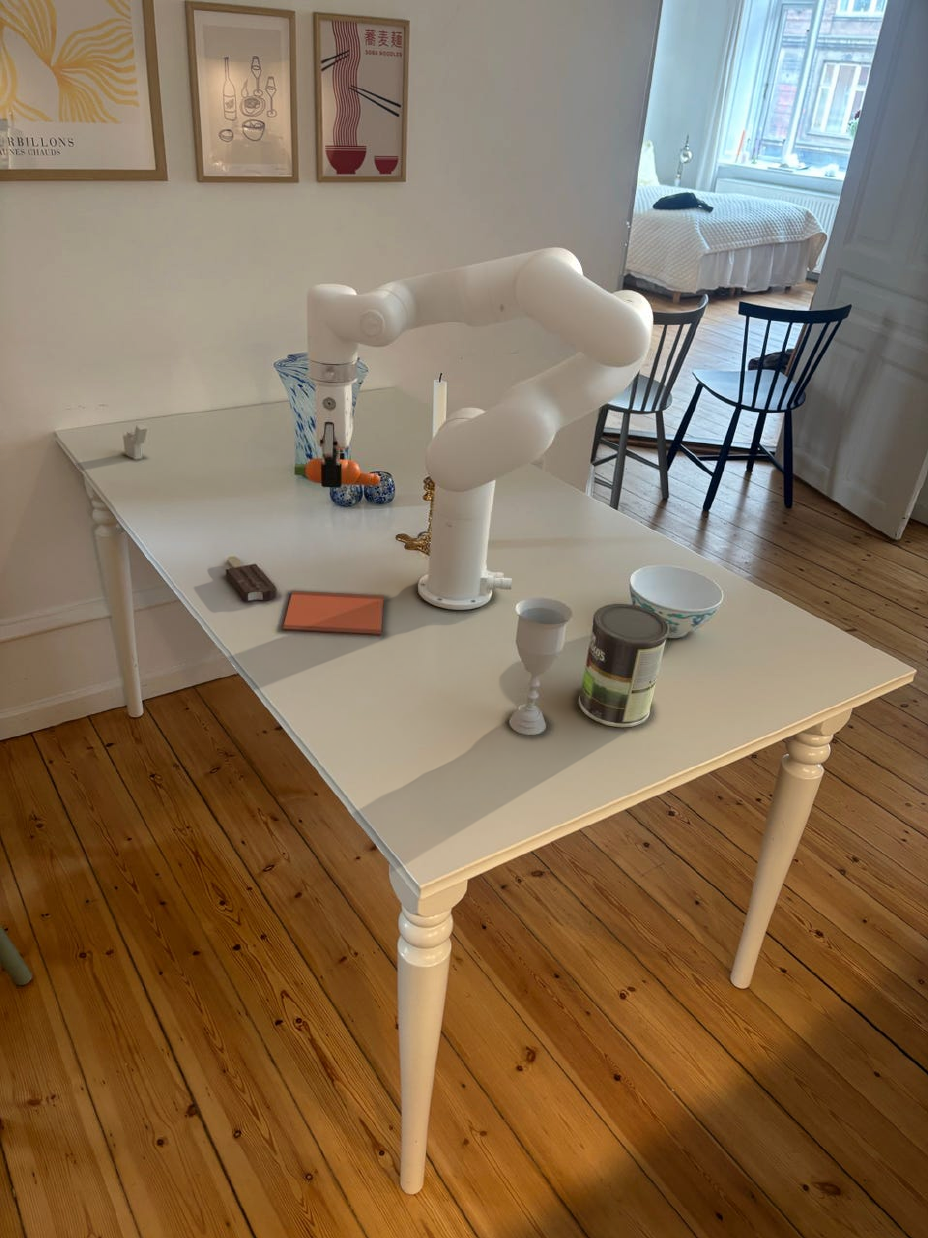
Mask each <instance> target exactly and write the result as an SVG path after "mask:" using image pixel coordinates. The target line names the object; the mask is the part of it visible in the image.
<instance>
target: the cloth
mask: <svg viewBox="0 0 928 1238" xmlns="http://www.w3.org/2000/svg"><path fill="white" fill-rule="evenodd" d="M383 607H384V595H379V594H377V595H376V594H359V593H358V594H357V593H343V592H342V593H339V592H323V591H321V592H320V591H302V590H292V591H291V595H290V599H289V603H288V607H287V611H286V615H285V619H284V623H283V627H282V631H289V632H290V631H291V632H307V633H308V632H309V633H327V634H329V633H330V634H346V635H349V634H350V635H351V634H352V635H366V636H367V635H369V636H381V635H382V634H381V633H382V621H383V609H384V608H383Z"/></svg>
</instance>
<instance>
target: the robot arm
mask: <svg viewBox="0 0 928 1238" xmlns="http://www.w3.org/2000/svg"><path fill="white" fill-rule="evenodd" d="M524 318H529V319H530V320H531V321H533V322H534V323H536V324H537V325H538V326H540V327H541V328H543V329H544V330H546V331H547V332H549V334H551V335H553V336H555V337H556V338H558V339H560V340H561V341H562V342H564V343H566V344H567V345H569V346H571V347H572V348H573V349H575V350H577V351H578V352H576V353H575V354H573V355H572V356H570V357H568V358H566V359H565V360H563V361H561V362H559V363H558V364H556V365H554V366H552V367H550V368H548V369H546V370H544V371H542V372H540V373H538V374H535V375H534V376H532V377H530V378H527V379H525V380H523V381H520V382H518V383H516V384H514V385H512V386H511V387H509V388H508V389H507V390H506V391H505V392H504V394H503V395H502V396H501V398H500V399H499V401H498V402H497V404H496V405H495V406H493V407H491V408H489V409H487V410H486V411H485V410H483V409H481V408H477V407H463V408H460V409H458V410H456V411H454V412H453V413H451V414H450V415H449V416H448V417H447V418H446V419H445V420H444V421H443V423H441V425H440V427H439V428H438V430H437V431H436V432H435V435H434V436H433V438H432V439H431V441H430V443H429V444H428V447H427V449H426V452H425V460H424V461H425V469H426V472H427V475H428V477H429V478H430V479H431V481H432V482H433V483H434V491H433V503H432V515H431V527H430V528H431V529H430V544H429V556H428V571H427V573H426V574H424V575H422V576H421V578H420V579H419V580H418V584H417V592H418V594H419V596H420V597H421V598H422V599H423V600H424V601H426V602H427V603H429V604H431V605H433V606H435V607H438V608H442V609H447V610H452V611H454V610H455V611H465V610H473V609H478V608H479V607H482V606H485V605H486V604H487V603H489V601H491V599H492V596H493V589H499V590H509V591H510V590H512V587H513V579H512V578H511V577H504V572H500V571H499V572H498V571H496V572H494V571H493V572H492V571H490V570H488V567H487V556H488V548H489V538H490V537H489V536H490V528H491V519H492V512H493V504H494V497H495V487H496V481H497V479H499V478H501V477H504V476H506V475H508V474H510V473H512V472H514V471H517V470H519V469H520V468H523V467H525V466H527V465H529V464H531V463H533V462H534V461H535V460H537V459H538V458H540V457H542V455H543V454H544V453H545V452H546V451H547V450H548V449H549V448H550V446H551V445H552V443H553V441H554V439H555V437H556V434H557V432H559V430H561V429H562V428H564V427H566V426H568V425H569V424H572V423H573V422H574V423H575V422H576V421H578V420H579V419H582V418H584V417H585V416H587V415H588V414H590V413H592V412H594V411H596V410H598V409H600V408H601V407H603V406H605V405H606V404H609V403H610V402H611V401H613V400H614V399H616V398H617V397H618V396H619V395H621V393H623V392H624V391H625V390H626V389H627V388H628V386H629V385H630V384H631V383H632V382H633V380H634V379H635V378H636V377H637V375H638V373H639V372H640V370H641V369H642V366H643V365H644V363H645V361H646V359H647V356H648V353H649V350H650V347H651V343H652V336H653V328H654V314H653V310H652V307H651V304H650V303H649V302H648V300H647V298H645V296H643V295H642V294H641V293H639V292H637V291H635V290H629V289H622V290H618V291H614V292H612V293H610V292H609V291H607V290H606V289H604V288H602V287H601V286H600V285H598V284H597V283H594V282H593V281H592V280H590V279H588V278H587V277H586V276H584V273H583V269H582V266H581V262H580V261H579V259H578V258H577V256H576V255H575V254H574V253H573V252H571V251H570V250H568V249H566V248H563V247H556V246H555V247H553V246H552V247H547V248H540V249H537V250H532V251H527V252H523V253H519V254H515V255H509V256H506V257H502V258H497V259H492V260H488V261H483V262H478V263H474V264H469V265H465V266H459V267H455V268H452V269H445V270H439V271H435V272H430V273H424V274H420V275H416V276H411V277H406V278H402V279H398V280H394V281H390V282H386V283H384V284H381V285H380V286H378V287H376V288H374V289H373V290H371V291H369V292H365V293H363V294H357V292H356V290H355V289H353V288H352V287H350V286H349V285H345V284H339V283H321V284H316V285H312V286H311V287H310V288H309V289H308V291H307V294H306V323H307V324H306V326H307V327H306V328H307V329H306V332H307V333H306V334H307V335H306V336H307V379H308V381H309V382H310V383H313V384H315V431H316V432H315V434H316V436H315V437H316V445H318V447H320V448H321V458H322V462H321V483H320V484H321V487H322V488H333V489H334V488H335V489H340V488H342V464H341V463H340V460H346V457H345V456H346V455H345V454H346V453H345V452H344V449H347V448H348V447H349V446H350V442H351V439H352V435H353V428H354V427H353V426H354V425H353V389H352V388H353V387H352V385H353V384H355V383H357V381H358V344H360V345H363V346H367V347H372V348H383V347H387V346H390V345H391V344H393V343H394V342H395V341H396V340H398V338H400V337H401V336H402V335H403V334H404V333H405V332H407V331H409V330H414V329H418V328H423V327H427V326H432V325H437V324H442V323H443V324H444V323H461V324H464V325H467V326H469V327H472V328H481V327H486V326H490V325H496V324H500V323H503V322H509V321H513V320H518V319H524Z"/></svg>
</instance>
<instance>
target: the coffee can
mask: <svg viewBox="0 0 928 1238" xmlns="http://www.w3.org/2000/svg"><path fill="white" fill-rule="evenodd" d="M668 634H669V626H668V623H667V622H666V620H665V619H664V618H663V617H661V616H660V615H659V614H657V613H655V612H653V611H651V610H649V609H647V608H644V607H640V606H637V605H633V604H631V603H611V604H607V605H604V606H602V607H601V606H600V607H599V608H598V609H597V610H596V611H595V612H594V613H593V615H592V627H591V633H590V639H589V644H588V649H587V656H586V661H585V665H584V671H583V677H582V682H581V688H580V693H579V696H578V705H579V708H580V710H581V711H582V712H583V713H584V715H586V716H587V717H588V718H589V719H591V720H592V721H593V720H594V721H595V722H597V723H598V724H602V725H605V726H608V727H614V728H632V727H635V726H639V725H641V724H642V723H645V722H646V721H647V719H648V718H649V715H650V712H651V711H650V710H651V705H652V701H653V698H654V697H653V696H654V692H655V690H656V684H657V679H658V675H659V671H660V667H661V663H662V659H663V654H664V650H665V645H666V641H667V638H668Z"/></svg>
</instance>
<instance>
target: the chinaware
mask: <svg viewBox="0 0 928 1238" xmlns="http://www.w3.org/2000/svg"><path fill="white" fill-rule="evenodd" d="M629 595H630V599H631V602H632V605H637V606H640V607H644V608H647V609H649V610H651V611H653V612H655V613H657V614H659V615H660V616H661V617H663V618H664V619H665V620H666V622H667V623H668V626H669V634H668V637H667V638H669V639H678V638H682V637H685V636H686V635H687V634H688V633H690V632H692V631H695V630H697V629H699V628H700V627H703V626H704V625H706V624H707V623H708V622H709V621H710V620H711V619H712V618H713V616H714V615H715V614H716V613H717V612H718V609H719V608H720V606H721V605H722V602H723V601H724V592H723V589H722V587H720V585H719V584H718V583H717V582H715V580H713V579H711V578H710V577H708V576H707V575H705V574H702V573H700V572H698V571H696V570H693V569H689V568H686V567H682V566H676V565H667V564H666V565H664V564H657V565H656V564H655V565H647V566H644V567H640V568H638V569H636V570H634V572H632V573H631V575H630V577H629Z"/></svg>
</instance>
